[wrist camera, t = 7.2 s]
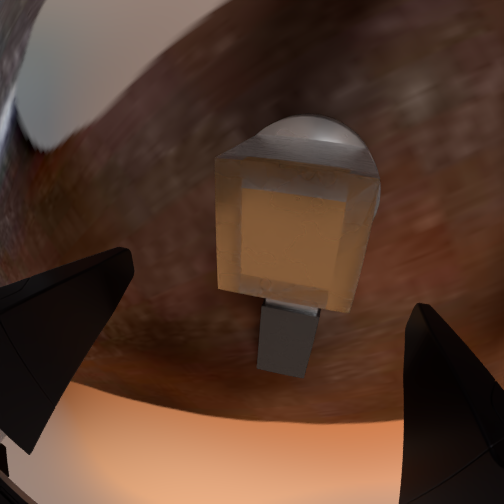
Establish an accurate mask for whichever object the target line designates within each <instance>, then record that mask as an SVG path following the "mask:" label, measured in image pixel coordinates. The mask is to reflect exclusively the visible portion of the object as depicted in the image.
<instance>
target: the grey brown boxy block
mask: <svg viewBox="0 0 504 504" xmlns="http://www.w3.org/2000/svg"><path fill="white" fill-rule="evenodd" d="M379 183H380V177H379V175H378V172H377V170H376V168H375V165H374V163H373V161H372V159H371V156H370V154H369V152H368V150H367V148H366V147H361V146H355V145H348V144H342V143H335V142H328V141H321V140H313V139H305V138H296V137H287V136H276V135H264V134H258V135H256V136H254V137H252V138H250V139H248V140H246V141H245V142H243V143H241V144H239V145H237V146H235V147H234V148H232V149H230V150H228V151H226V152H225V153H223V154H221V155H219V156H217V157H216V158H215V206H216V246H217V275H218V289H222V290H227V291H232V292H236V293H241V294H246V295H251V296H256V297H261V298H267V299H272V300H277V301H282V302H288V303H293V304H298V305H304V306H309V307H315V308H321V309H327V310H332V311H338V312H344V313H349V312H350V309H351V305H352V302H353V298H354V295H355V291H356V287H357V284H358V280H359V276H360V272H361V268H362V264H363V260H364V256H365V252H366V247H367V243H368V239H369V234H370V230H371V225H372V220H373V215H374V210H375V205H376V200H377V195H378V189H379Z"/></svg>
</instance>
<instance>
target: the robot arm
mask: <svg viewBox="0 0 504 504" xmlns="http://www.w3.org/2000/svg"><path fill="white" fill-rule="evenodd" d="M133 276H134V266H133V260H132V255H131V251H130V250H129V249H127V248H123V247H117V248H113V249H110V250H107V251H104V252H101V253H98V254H95V255H92V256H89V257H86V258H83V259H80V260H77V261H74V262H71V263H68V264H66V265H63V266H60V267H57V268H54V269H51V270H48V271H46V272H43V273H40V274H37V275H34V276H32V277H30V278H26V279H23V280H21V281H18V282H15V283H12V284H9V285H6V286H3V287H0V504H37V503H36V502H35V501H34V500H32V499H31V498H30V497H29V496H28V495H27V494H25V493H24V492H23V491H22V490H21V489H20V488H19V487H18V486H17V485H15V484H14V483H13V482H12V481H11V480H10V479H9V478H8V477H9V471H8V464H7V454H6V447H5V446H4V445H3V444H2V443H1V442H2V440H3V439H4V437H5V436H6V435H7V436H8V437H9V438H10V439H11V440H13V441H14V442H15V443H16V444H17V445H18V446H19V447H20V448H22V449H23V450H24V451H25V452H26V453H27V454H28V455H30V454H31V453H32V451H33V449H34V447H35V445H36V443H37V441H38V439H39V437H40V435H41V433H42V431H43V429H44V427H45V426H46V424H47V422H48V420H49V418H50V416H51V415H52V413H53V411H54V409H55V406H56V405H57V403H58V402H59V400H60V398H61V396H62V395H63V393H64V391H65V389H66V388H67V386H68V384H69V383H70V381H71V379H72V377H73V376H74V374H75V372H76V371H77V369H78V367H79V366H80V364H81V363H82V361H83V359H84V358H85V356H86V354H87V353H88V351H89V350H90V348H91V346H92V345H93V343H94V342H95V340H96V339H97V337H98V335H99V334H100V332H101V331H102V329H103V328H104V326H105V325H106V323H107V322H108V320H109V319H110V317H111V316H112V314H113V312H114V311H115V309H116V307H117V305H118V304H119V302H120V300H121V298H122V296H123V294H124V292H125V291H126V289H127V287H128V285H129V283H130V282H131V280H132V278H133ZM403 388H404V441H403V462H402V477H401V487H400V497H399V504H504V390H503V389H502V388H501V386H500V385H499V384H498V382H497V381H495V379H494V377H493V376H492V375H491V374H490V373H489V371H488V370H487V369H486V368H485V366H484V365H483V364H482V363H481V362H480V360H479V359H478V358H477V357H476V356H475V354H474V353H473V352H472V351H471V350H470V349H469V348H468V346H467V345H466V344H465V343H464V342H463V341H462V339H461V338H460V337H459V336H458V335H457V334H456V333H455V332H454V331H453V329H452V328H451V327H450V326H449V325H448V324H447V323H446V322H445V321H444V320H443V318H442V317H441V316H440V315H439V314H438V313H437V312H436V311H435V310H434V309H433V308H432V307H431V306H430V305H429V304H423V303H417V304H416V305H415V307H414V309H413V311H412V313H411V316H410V318H409V320H408V322H407V325H406V329H405V352H404V370H403Z"/></svg>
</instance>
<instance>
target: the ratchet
mask: <svg viewBox="0 0 504 504" xmlns="http://www.w3.org/2000/svg"><path fill="white" fill-rule="evenodd" d="M258 134H264V135H276V136H287V137H296V138H305V139H313V140H321V141H328V142H335V143H342V144H348V145H355V146H361V147H366V148H367V146H366V144H365V143H364V141H363V140H362V139H361V138H360V137H359V135H358V134H357V133H356V132H355V131H353V130H352V129H351V128H350V127H348V126H347V125H345V124H344V123H342V122H340V121H338V120H336V119H334V118H331V117H328V116H325V115H319V114H298V115H293V116H289V117H287V118H284V119H281V120H279V121H277V122H275V123H273V124H271V125H269V126H267V127H265V128H264V129H263V130H261V131H260V132H259V133H257V134H256V135H258ZM256 135H255V136H256ZM367 150H368V152H369V154H370V151H369V149H368V148H367ZM370 156H371V154H370ZM371 159H372V161H373V163H374V165H375V168H376V170H377V167H376V164H375V162H374V160H373V158H372V156H371ZM377 172H378V171H377ZM378 175H379V174H378ZM379 200H380V183H379V189H378V195H377V200H376V205H375V210H374V215H373V219H374V217H375V215H376V212H377V209H378V205H379ZM372 221H373V220H372ZM320 310H321V308H315V307H309V306H304V305H298V304H293V303H288V302H282V301H277V300H272V299H267V298H265V299H264V301H263V304H262V308H261V321H260V334H259V346H258V359H257V369H261V370H266V371H270V372H275V373H279V374H284V375H289V376H294V377H299V378H304V375H305V372H306V368H307V364H308V361H309V357H310V353H311V349H312V345H313V341H314V337H315V333H316V329H317V325H318V321H319V317H320Z"/></svg>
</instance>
